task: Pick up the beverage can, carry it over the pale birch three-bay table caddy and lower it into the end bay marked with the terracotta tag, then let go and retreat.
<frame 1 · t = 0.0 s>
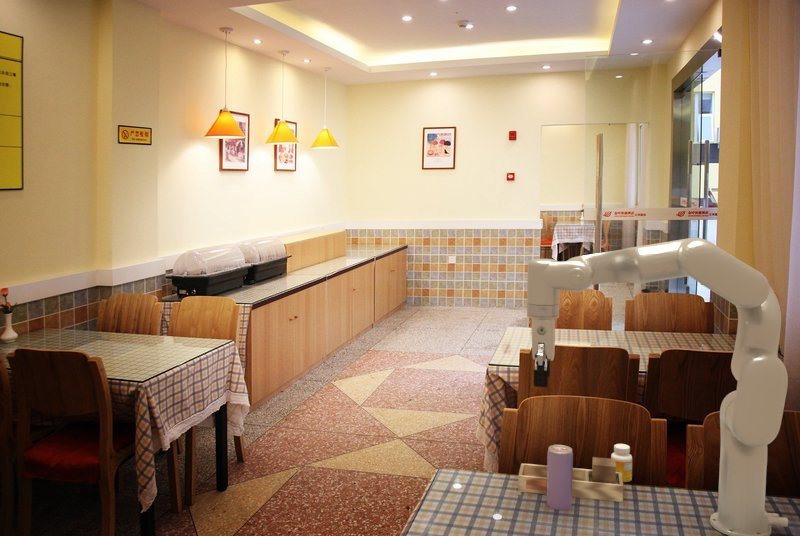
hand: (541, 381, 170), 31 cm above the table, fingers open, 9 cm apart
beverage can: (559, 509, 171), on the table
supplement bottle: (620, 482, 188), on the table
walnut block: (603, 492, 178), point 1 cm above the table, touching rack
rack: (569, 493, 180), on the table
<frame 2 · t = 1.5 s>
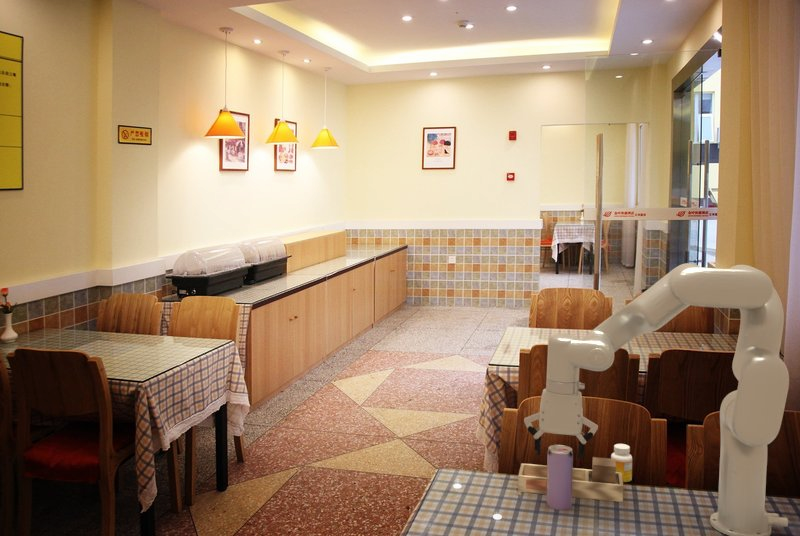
hand: (559, 455, 170), 13 cm above the table, fingers open, 9 cm apart
nothing on the table moved.
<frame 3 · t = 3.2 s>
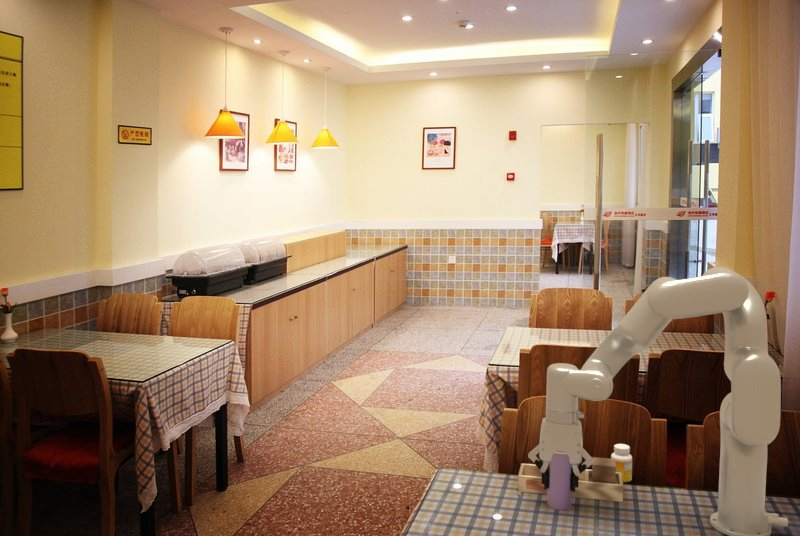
hand: (559, 487, 171), 5 cm above the table, fingers closed on beverage can, 5 cm apart
beverage can: (559, 509, 171), on the table, touching gripper
everything else where it was.
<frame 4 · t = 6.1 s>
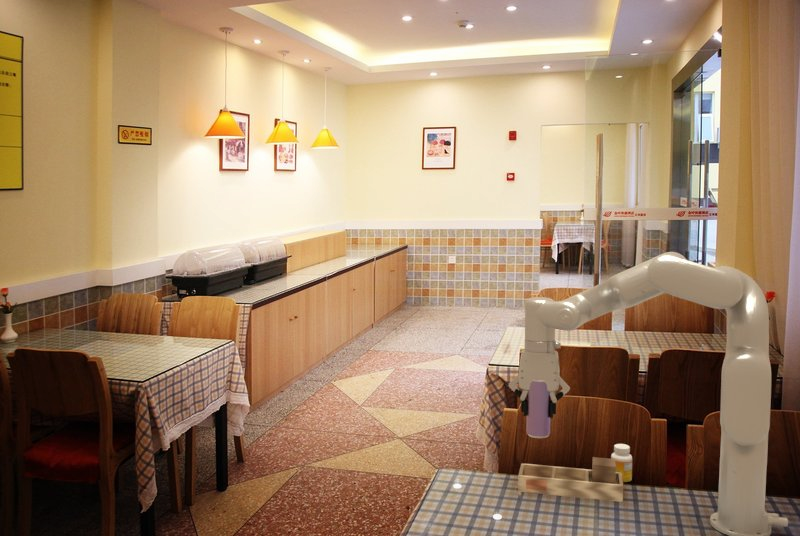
hand: (538, 415, 181), 20 cm above the table, fingers closed on beverage can, 5 cm apart
beverage can: (538, 435, 181), point 14 cm above the table, touching gripper
everything else where it was.
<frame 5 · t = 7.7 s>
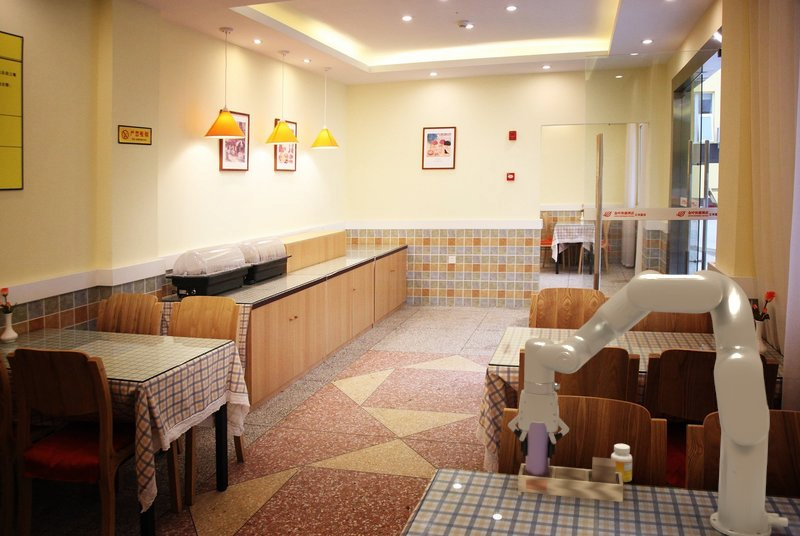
hand: (537, 455, 182), 9 cm above the table, fingers closed on beverage can, 5 cm apart
beverage can: (537, 475, 182), point 4 cm above the table, touching gripper
everything else where it was.
when the fingers open (7 cm above the table, at t = 9.0 s): beverage can stays where it is, resting on rack.
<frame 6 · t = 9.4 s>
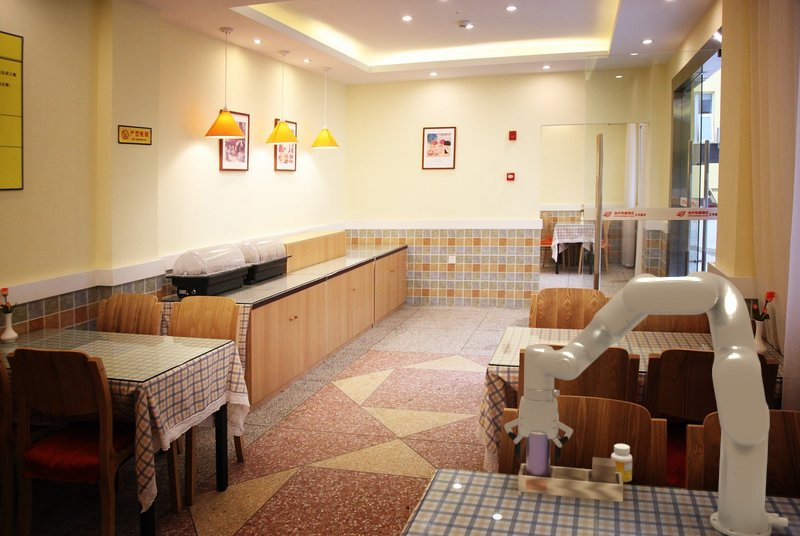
hand: (537, 458, 182), 8 cm above the table, fingers open, 9 cm apart
beverage can: (537, 486, 182), point 1 cm above the table, touching rack
everything else where it was.
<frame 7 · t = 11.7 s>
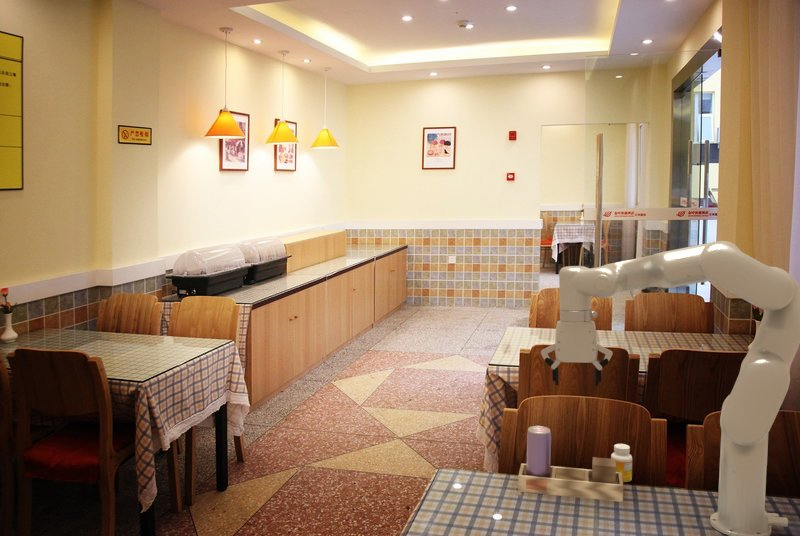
hand: (576, 384, 176), 29 cm above the table, fingers open, 9 cm apart
nothing on the table moved.
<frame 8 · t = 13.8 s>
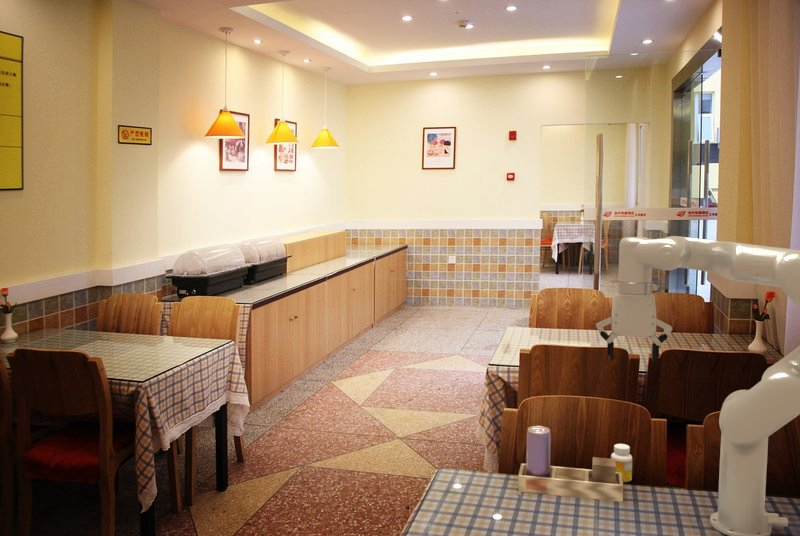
hand: (632, 359, 170), 36 cm above the table, fingers open, 9 cm apart
nothing on the table moved.
at the end: beverage can 0.2 cm from the target spot on the rack, point 0.9 cm above the rack's base; beverage can tilted 0°; the gripper is holding nothing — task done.
